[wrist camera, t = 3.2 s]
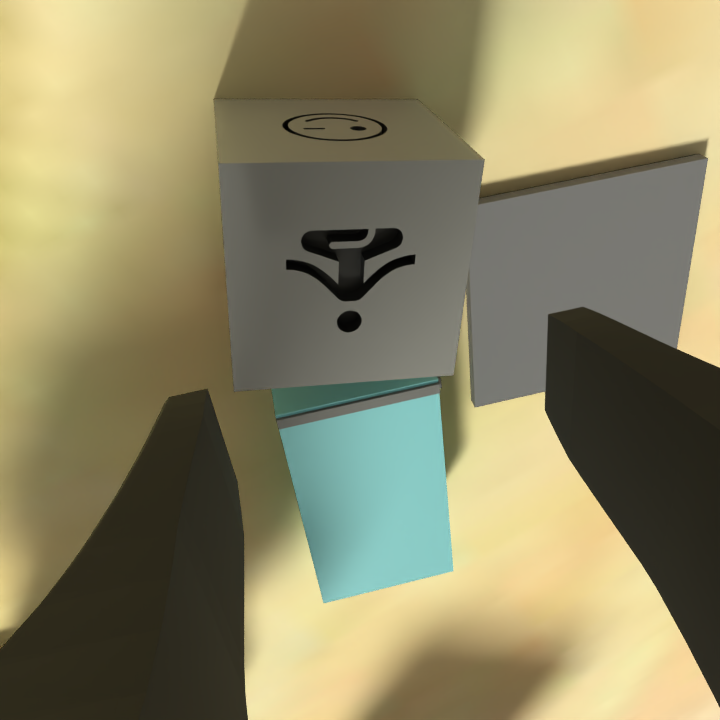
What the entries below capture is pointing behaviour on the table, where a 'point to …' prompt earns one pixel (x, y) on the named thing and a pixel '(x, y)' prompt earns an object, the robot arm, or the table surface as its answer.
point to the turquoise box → (368, 481)
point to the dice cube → (343, 239)
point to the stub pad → (577, 265)
